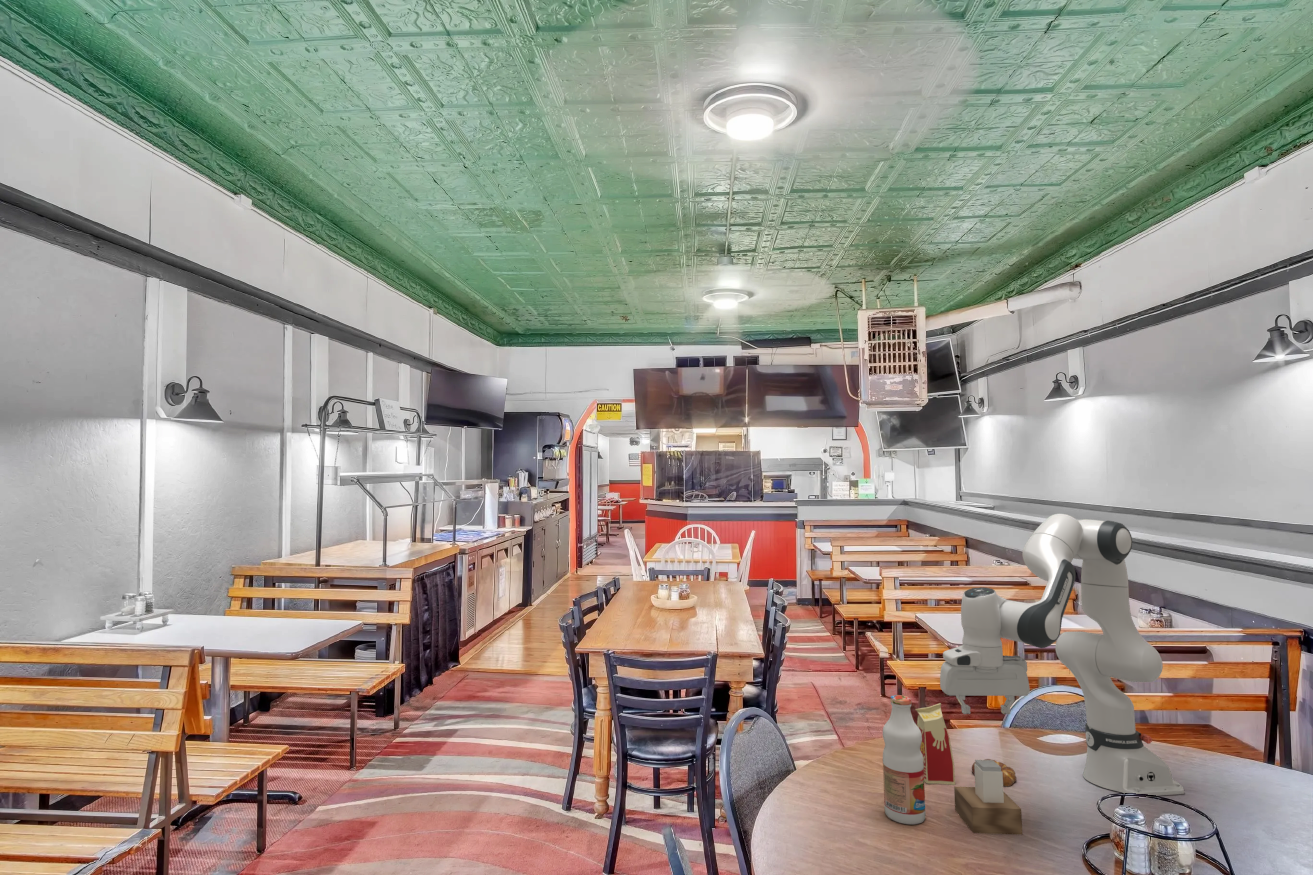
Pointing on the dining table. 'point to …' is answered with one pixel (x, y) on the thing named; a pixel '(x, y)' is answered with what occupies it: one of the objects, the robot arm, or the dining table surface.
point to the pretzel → (1007, 773)
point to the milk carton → (935, 746)
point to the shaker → (988, 781)
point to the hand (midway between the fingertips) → (985, 713)
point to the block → (987, 813)
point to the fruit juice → (903, 765)
